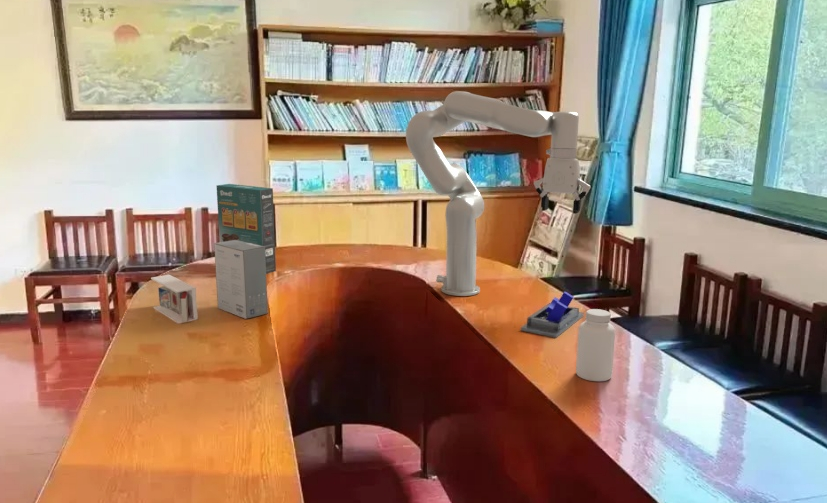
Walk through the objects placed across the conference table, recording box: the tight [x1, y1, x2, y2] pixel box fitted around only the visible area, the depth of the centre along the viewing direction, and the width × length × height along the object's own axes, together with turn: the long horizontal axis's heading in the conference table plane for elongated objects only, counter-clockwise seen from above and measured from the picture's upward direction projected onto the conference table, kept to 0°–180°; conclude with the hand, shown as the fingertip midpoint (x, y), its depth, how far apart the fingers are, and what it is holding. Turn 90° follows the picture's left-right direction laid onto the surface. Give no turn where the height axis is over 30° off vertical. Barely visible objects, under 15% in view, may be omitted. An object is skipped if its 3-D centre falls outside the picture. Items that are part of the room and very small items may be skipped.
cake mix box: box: [216, 183, 277, 275], centre depth 243 cm, size 22×6×30 cm, turn 58°
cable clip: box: [546, 291, 575, 322], centre depth 187 cm, size 12×4×6 cm, turn 158°
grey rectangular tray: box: [520, 302, 585, 339], centre depth 188 cm, size 10×22×3 cm, turn 148°
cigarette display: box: [150, 274, 199, 324], centre depth 192 cm, size 20×6×9 cm, turn 41°
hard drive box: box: [213, 240, 269, 320], centre depth 194 cm, size 16×8×20 cm, turn 47°
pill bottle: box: [575, 308, 616, 382], centre depth 151 cm, size 8×8×15 cm
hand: (560, 211), depth 202 cm, fingers open, 9 cm apart
